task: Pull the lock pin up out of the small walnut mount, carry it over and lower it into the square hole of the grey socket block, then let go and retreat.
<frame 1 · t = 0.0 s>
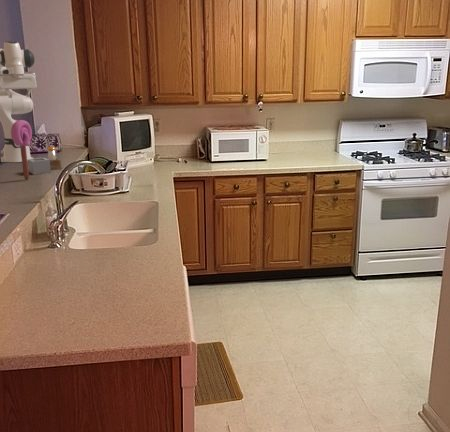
hand: (19, 97, 274), 39 cm above the worktop, tool pointing down, fingers open, 8 cm apart
lollipop: (27, 180, 250), on the worktop
pin: (52, 158, 276), in the mount
socket: (40, 172, 268), on the worktop
mount: (53, 168, 278), on the worktop
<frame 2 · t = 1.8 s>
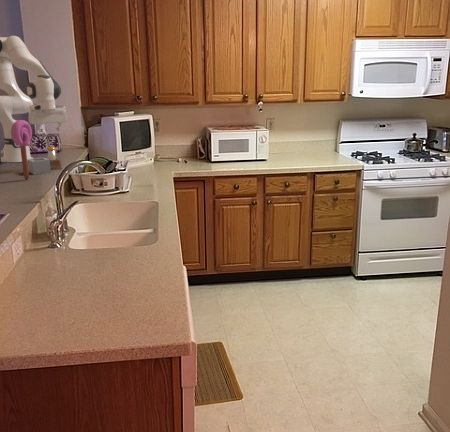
hand: (49, 131, 272), 21 cm above the worktop, tool pointing down, fingers open, 8 cm apart
nothing on the worktop moved.
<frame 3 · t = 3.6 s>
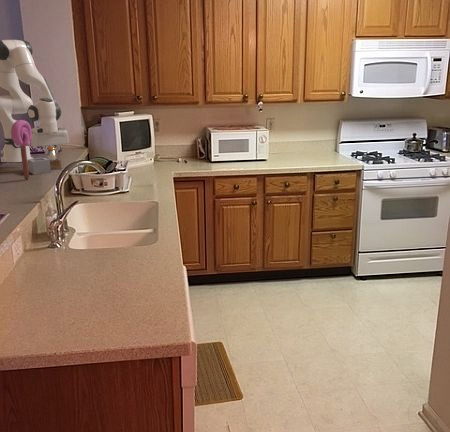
hand: (51, 153, 276), 9 cm above the worktop, tool pointing down, fingers closed on pin, 4 cm apart
pin: (52, 158, 276), in the mount, touching gripper
everything else where it was.
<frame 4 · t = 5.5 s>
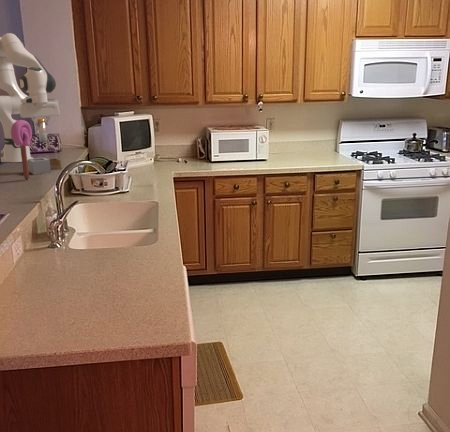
hand: (41, 125, 265), 25 cm above the worktop, tool pointing down, fingers closed on pin, 4 cm apart
pin: (42, 130, 266), point 22 cm above the worktop, touching gripper
everything else where it was.
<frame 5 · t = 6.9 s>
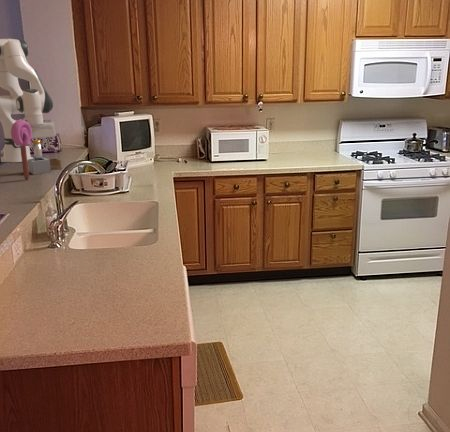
hand: (37, 146, 264), 14 cm above the worktop, tool pointing down, fingers closed on pin, 4 cm apart
pin: (37, 151, 265), point 11 cm above the worktop, touching gripper
everything else where it was.
when the fingers open (11 cm above the worktop, at t = 7.9 s): pin drops 2 cm, resting in socket.
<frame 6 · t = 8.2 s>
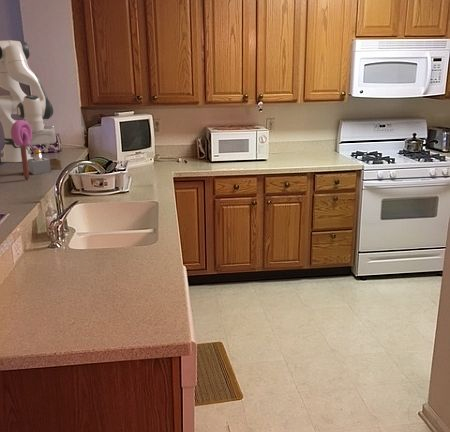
hand: (37, 152, 265), 11 cm above the worktop, tool pointing down, fingers open, 7 cm apart
pin: (38, 161, 266), in the socket
everything else where it was.
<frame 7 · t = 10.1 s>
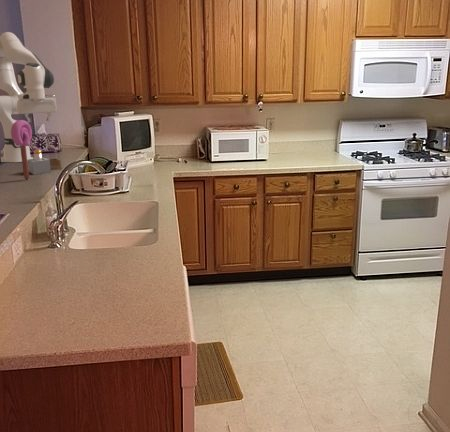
hand: (38, 121, 265), 27 cm above the worktop, tool pointing down, fingers open, 8 cm apart
nothing on the worktop moved.
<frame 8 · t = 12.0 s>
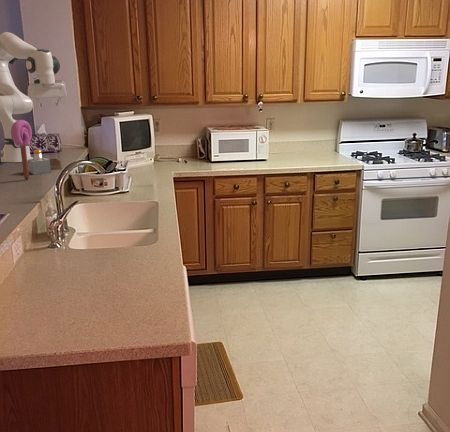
hand: (48, 106, 272), 34 cm above the worktop, tool pointing down, fingers open, 8 cm apart
nothing on the worktop moved.
at the end: pin 0.1 cm off-centre on the socket, point 6.0 cm above the socket's base; pin tilted 0°; the gripper is holding nothing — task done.
